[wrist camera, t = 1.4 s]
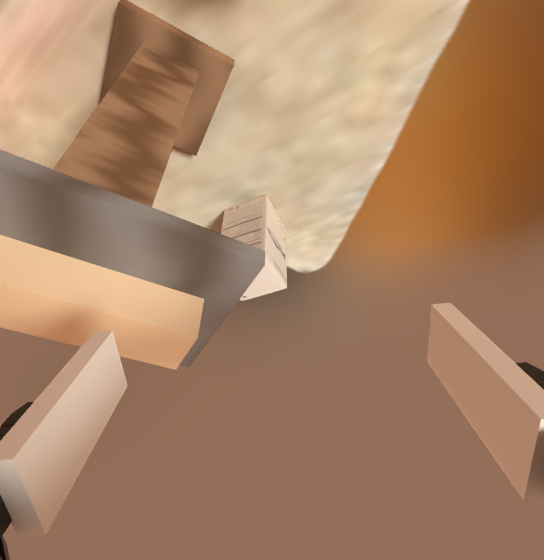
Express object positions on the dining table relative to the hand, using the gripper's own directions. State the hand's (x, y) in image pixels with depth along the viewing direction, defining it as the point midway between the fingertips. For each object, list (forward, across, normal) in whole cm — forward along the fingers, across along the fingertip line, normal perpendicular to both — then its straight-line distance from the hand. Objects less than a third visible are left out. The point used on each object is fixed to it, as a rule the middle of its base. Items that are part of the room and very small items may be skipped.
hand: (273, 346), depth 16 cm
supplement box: (+44, -2, -4) cm, 44 cm away
